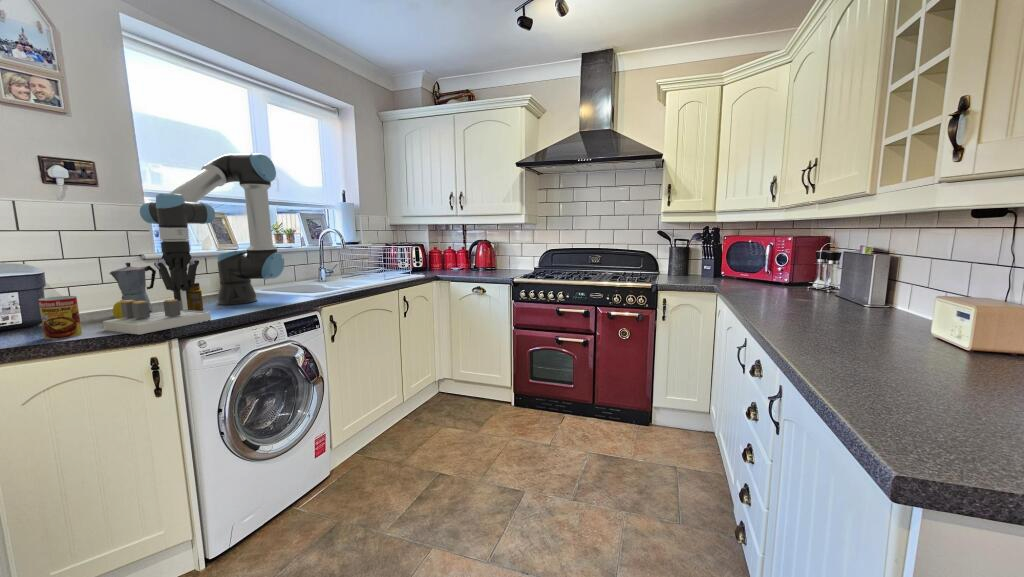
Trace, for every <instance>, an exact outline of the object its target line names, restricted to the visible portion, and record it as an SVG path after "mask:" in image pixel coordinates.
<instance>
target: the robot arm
mask: <svg viewBox="0 0 1024 577" xmlns="http://www.w3.org/2000/svg"><path fill="white" fill-rule="evenodd" d="M276 170H277V169H276V167H275V164H274V163H273V161H272V160H271V158H270V157H268V155H266V154H264V153H259V152H257V153H256V152H252V153H251V152H249V153H227V154H224V155H221V156H219V157H217V158H213V160H211V161H209V162H207V163H206V164H205V165H203V166H202V167H201V169H200V172H198V173H196V174H195V175H194V176H192V177H191V178H189V179H188V180H186V181H185V182H183V183H182V184H181V185H178V187H176V188H175V189H173V190H172V191H170V192H169V193H158V194H156V196H155V201H154V202H153V201H151V202H144V203H143V204H142V205H141V206H140V207H139V214H140V217H141V219H142V220H143V221H144V222H145V223H148V224H153V225H155V224H156V225H158V233H159V239H160V240H161V242H160V247H161V248H160V249H161V253H162V256H161V260H159V261H158V262H154V264H153V265H154V266H155V268H156V269H157V270H158V272H159V275H160V277H161V279H162V282H163V284H164V287H165V289H166V290H167V291H172V292H173V299H177V300H178V301H179V304H180V310H187V309H188V306H187V299H189V294H188V290H190V288H193V287H194V283H196V276H197V268H198V266H199V264H200V260H198V259H194V258H192V255H191V253H190V252H191V247H190V242H189V241H188V240H189V231H188V224H198V225H204V224H211V223H212V222H213V221H214V220H215V218H216V212H215V208H214V207H213V206H212V205H211V204H208V203H206V202H205V203H204V202H199V201H200V200H201V199H203V198H204V197H206V195H208V194H209V193H211V192H212V191H213V190H215V189H216V188H217V187H223V186H225V185H226V184H230V183H237V182H239V183H238V184H239V186H240V187H241V188H242V189H243V190H244V197H245V199H244V200H245V208H246V216H247V226H248V227H247V228H248V237H249V244H250V245H249V246H248V247H247V248H246V249H240V250H238V249H237V250H229V251H228V250H227V251H223V252H220V253H218V254H217V268H218V278H219V290H218V294H217V298H216V302H217V303H216V304H217V305H222V306H223V305H226V306H228V305H241V304H248V303H254V302H257V301H258V298H257V297H258V296H257V293H256V292H255V289H254V288H253V286H252V282H251V281H252V280H269V279H270V280H271V279H277V278H279V277H280V276H281V274H282V273H283V271H284V269H285V258H284V257H283V254H281V253H280V252H278V248H277V247H276V246H275V245H274V244H273V234H272V224H271V215H270V214H271V213H270V203H269V202H270V201H269V191H268V190H269V189H270V188H271V187H272V182H273V181H274V180H276V176H277V171H276ZM166 266H167V267H166Z"/></svg>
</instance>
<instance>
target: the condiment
mask: <svg viewBox="0 0 1024 577" xmlns="http://www.w3.org/2000/svg"><path fill="white" fill-rule="evenodd" d="M200 288H201V286H200V283H199V282H195V283H194V287H193V288H190V290H188V294H189V299H187V306H188V309H187V310H193V311H204V303H203V295H202V289H200Z"/></svg>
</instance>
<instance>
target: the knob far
mask: <svg viewBox="0 0 1024 577" xmlns="http://www.w3.org/2000/svg"><path fill="white" fill-rule="evenodd" d="M133 302H136V301H135V300H125V301H122V302H121V308H122V315H123V317H125V318H130V317H134V316H133V309H132V303H133Z"/></svg>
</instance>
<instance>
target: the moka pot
mask: <svg viewBox="0 0 1024 577" xmlns="http://www.w3.org/2000/svg"><path fill="white" fill-rule="evenodd" d="M124 264H125V266H126V267H121V268H118V269H115V270H111V271H110V272H108V274H109V275H111V276H112V277H113V279H114V281H116V282H117V285H118V288H119V290H120V292H121V300H124V301H125V300H135V301H146V302H148V305H149V312H151V311H153V310H154V309H153V307H152V306H153V305H152V304H151V301H150V298H149V295H148V293H147V291H146V290H151V289H154V285H155V278H156V273H157V270H156V269H155V268H153V267H152V266H150V265H146V266H141V267H137V266H131V262H125V263H124ZM148 271H151V277H150V278H151V279H150V284H149V286H147V284H146V281H147V280H146V272H148Z"/></svg>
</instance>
